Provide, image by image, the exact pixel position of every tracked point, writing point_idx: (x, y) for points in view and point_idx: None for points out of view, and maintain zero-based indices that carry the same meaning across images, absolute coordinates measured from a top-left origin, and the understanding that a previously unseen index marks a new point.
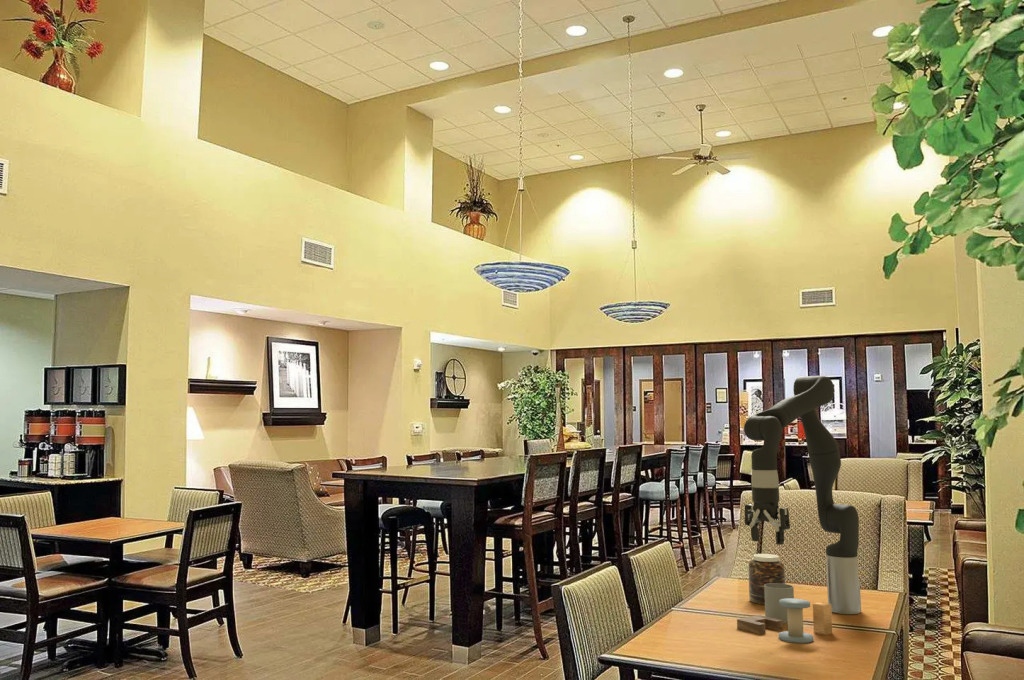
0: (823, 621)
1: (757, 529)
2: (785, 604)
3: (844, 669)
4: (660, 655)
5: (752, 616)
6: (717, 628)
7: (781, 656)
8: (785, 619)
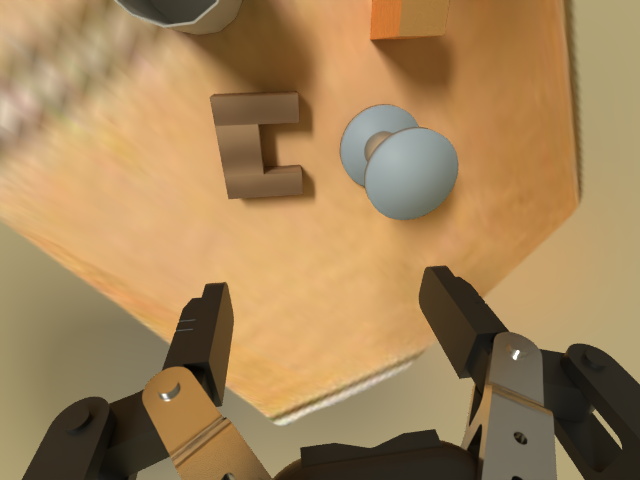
0: (418, 37)
1: (213, 362)
2: (405, 217)
3: (536, 238)
4: (312, 385)
5: (217, 135)
6: (211, 228)
7: (428, 266)
8: (239, 2)
